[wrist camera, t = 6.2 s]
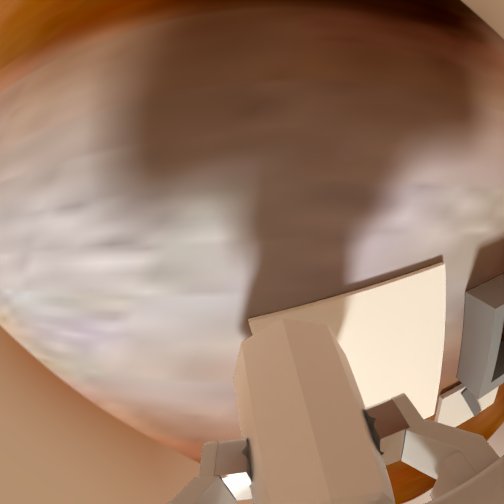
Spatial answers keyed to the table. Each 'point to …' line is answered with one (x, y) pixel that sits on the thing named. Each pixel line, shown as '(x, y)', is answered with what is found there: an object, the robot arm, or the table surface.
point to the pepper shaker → (305, 420)
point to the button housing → (483, 338)
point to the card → (461, 405)
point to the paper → (386, 334)
